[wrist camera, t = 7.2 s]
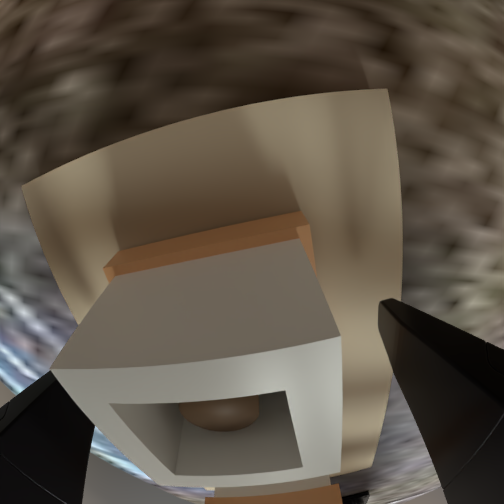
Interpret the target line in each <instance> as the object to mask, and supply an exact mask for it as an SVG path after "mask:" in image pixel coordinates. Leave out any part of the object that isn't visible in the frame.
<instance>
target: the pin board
mask: <svg viewBox="0 0 504 504" xmlns="http://www.w3.org/2000/svg"><path fill="white" fill-rule="evenodd" d="M21 188H22V192H23V195H24V198H25V202H26V205H27V208H28V211H29V214H30V217H31V220H32V223H33V226H34V228H35V231H36V234H37V237H38V239H39V242H40V245H41V247H42V250H43V252H44V255H45V257H46V259H47V262H48V264H49V266H50V269H51V271H52V273H53V275H54V278H55V280H56V282H57V284H58V286H59V288H60V291H61V293H62V295H63V297H64V299H65V301H66V303H67V305H68V307H69V309H70V310H71V312H72V314H73V316H74V318H75V320H76V322H77V324H78V325H79V324H80V323H81V321H82V320H83V318H84V317H85V316H86V314H87V313H88V312H89V310H90V309H91V307H92V306H93V305H94V303H95V302H96V301H97V299H98V298H99V297H100V295H101V294H102V293H103V291H104V290H105V289H106V287H107V286H108V285H109V282H108V280H107V278H106V275H105V273H104V271H103V267H104V266H105V265H106V264H107V263H108V262H109V261H110V260H111V259H112V258H113V256H114V255H115V254H116V253H117V252H118V251H121V250H125V249H129V248H133V247H138V246H142V245H146V244H150V243H154V242H159V241H163V240H167V239H171V238H176V237H180V236H184V235H189V234H193V233H198V232H202V231H207V230H211V229H216V228H220V227H225V226H230V225H234V224H239V223H244V222H248V221H253V220H258V219H263V218H268V217H272V216H277V215H282V214H287V213H292V212H297V211H302V213H303V214H304V216H305V218H306V219H307V221H308V222H309V224H310V230H311V237H312V244H313V251H314V258H315V265H316V273H317V279H318V282H319V284H320V286H321V289H322V291H323V293H324V296H325V298H326V300H327V303H328V305H329V308H330V310H331V313H332V315H333V317H334V320H335V322H336V325H337V327H338V330H339V332H340V335H341V347H342V390H343V407H342V449H341V468H340V472H338V473H334V474H329V476H330V477H334V476H339V475H343V474H347V473H351V472H355V471H358V470H362V469H366V468H369V467H371V466H372V463H373V460H374V456H375V453H376V449H377V445H378V441H379V437H380V433H381V429H382V425H383V421H384V416H385V412H386V407H387V402H388V397H389V391H390V386H391V380H392V374H393V370H392V367H391V364H390V361H389V358H388V355H387V353H386V350H385V347H384V344H383V341H382V338H381V336H380V333H379V330H378V305H379V302H380V301H381V300H385V299H389V298H394V299H396V300H399V301H401V289H402V261H403V229H402V201H401V186H400V173H399V163H398V153H397V145H396V137H395V130H394V123H393V117H392V111H391V105H390V100H389V94H388V89H367V90H352V91H339V92H329V93H320V94H311V95H304V96H296V97H290V98H283V99H277V100H271V101H266V102H260V103H255V104H250V105H245V106H240V107H236V108H231V109H227V110H222V111H218V112H214V113H210V114H206V115H202V116H198V117H195V118H191V119H187V120H184V121H180V122H177V123H173V124H170V125H167V126H164V127H160V128H157V129H154V130H151V131H148V132H145V133H142V134H139V135H136V136H133V137H131V138H128V139H125V140H122V141H120V142H117V143H114V144H112V145H109V146H107V147H104V148H102V149H99V150H97V151H94V152H92V153H89V154H87V155H85V156H82V157H80V158H78V159H75V160H73V161H71V162H69V163H67V164H64V165H62V166H60V167H58V168H56V169H54V170H52V171H50V172H48V173H46V174H44V175H42V176H40V177H38V178H36V179H34V180H32V181H30V182H28V183H26V184H24V185H23V186H21ZM179 410H180V413H181V414H182V416H183V417H184V418H185V419H186V420H187V421H189V422H190V423H192V424H194V425H196V426H198V427H200V428H203V429H207V430H211V431H219V432H229V431H236V430H240V429H243V428H246V427H248V426H250V425H251V424H253V423H254V422H255V421H256V420H257V418H258V416H259V395H252V396H245V397H237V398H228V399H219V400H208V401H196V402H180V403H179ZM204 488H205V489H206V490H215V487H204Z"/></svg>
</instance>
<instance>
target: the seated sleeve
mask: <svg viewBox="0 0 504 504" xmlns="http://www.w3.org/2000/svg"><path fill="white" fill-rule="evenodd" d="M205 504H343V503H342V497H341V492H340V487H339V483H338V484H334V485H331V482H330V476H329V475H324V476H319V477H314V478H309V479H303V480H297V481H290V482H283V483H275V484H266V485H254V486H240V487H215V494H214V497H205Z"/></svg>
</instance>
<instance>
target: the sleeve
mask: <svg viewBox="0 0 504 504" xmlns="http://www.w3.org/2000/svg"><path fill="white" fill-rule="evenodd" d="M103 271H104V273H105V275H106V278H107V280H108V282H109V285H108V286H107V287H106V289H105V290H104V291H103V293H102V294H101V295H100V297H99V298H98V299H97V301H96V302H95V303H94V305H93V306H92V307H91V309H90V310H89V312H88V313H87V314H86V316H85V317H84V318H83V320H82V321H81V323H80V324H79V325H78V327H77V328H76V330H75V331H74V333H73V334H72V336H71V337H70V338H69V340H68V341H67V343H66V344H65V346H64V347H63V349H62V350H61V352H60V353H59V355H58V356H57V358H56V359H55V361H54V363H53V364H52V366H51V367H50V370H51V371H52V373H53V374H54V376H55V377H56V378H57V380H58V381H59V382H60V384H61V385H62V386H63V388H64V389H65V390H66V392H67V393H68V394H69V395H70V397H71V398H72V399H73V400H74V402H75V403H76V404H77V405H78V406H79V408H80V409H81V410H82V411H83V412H84V413H85V415H86V416H87V417H88V418H89V419H90V420H91V421H92V422H93V424H94V425H95V426H96V427H97V428H98V429H99V430H100V431H101V432H102V433H103V434H104V435H105V436H106V437H107V438H108V439H109V440H110V442H111V443H112V444H113V445H114V446H116V447H117V448H118V449H119V450H120V451H121V452H122V453H123V454H124V455H125V456H126V457H127V458H128V459H129V460H130V461H131V462H132V463H134V464H135V465H136V466H137V467H138V468H139V469H140V470H141V471H143V472H144V473H145V474H146V475H147V476H148V477H150V478H151V479H152V480H153V481H154V482H156V483H157V484H158V485H163V486H177V487H240V486H254V485H266V484H275V483H283V482H290V481H297V480H303V479H309V478H314V477H319V476H324V475H329V474H334V473H338V472H340V468H341V449H342V407H343V390H342V347H341V335H340V332H339V330H338V327H337V325H336V322H335V320H334V317H333V315H332V313H331V310H330V308H329V305H328V303H327V300H326V298H325V296H324V293H323V291H322V289H321V286H320V284H319V282H318V279H317V273H316V265H315V258H314V251H313V244H312V237H311V230H310V224H309V222H308V221H307V219H306V218H305V216H304V214H303V213H302V211H297V212H292V213H287V214H282V215H277V216H272V217H268V218H263V219H258V220H253V221H248V222H244V223H239V224H234V225H230V226H225V227H220V228H216V229H211V230H207V231H202V232H198V233H193V234H189V235H184V236H180V237H176V238H171V239H167V240H163V241H159V242H154V243H150V244H146V245H142V246H138V247H133V248H129V249H125V250H121V251H118V252H117V253H116V254H115V255H114V256H113V258H112V259H111V260H110V261H109V262H108V263H107V264H106V265H105V266H104V267H103ZM252 395H259V416H258V418H257V420H256V421H255V422H254V423H253V424H251V425H250V426H248V427H246V428H243V429H240V430H236V431H229V432H219V431H211V430H207V429H203V428H200V427H198V426H196V425H194V424H192V423H190V422H189V421H187V420H186V419H185V418H184V417H183V416H182V414H181V413H180V410H179V403H180V402H196V401H208V400H219V399H228V398H237V397H245V396H252Z"/></svg>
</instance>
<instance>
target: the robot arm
mask: <svg viewBox="0 0 504 504" xmlns="http://www.w3.org/2000/svg"><path fill="white" fill-rule="evenodd" d="M378 330H379V333H380V336H381V338H382V341H383V344H384V347H385V350H386V353H387V355H388V358H389V361H390V364H391V367H392V370H393V373H394V375H395V377H396V379H397V382H398V384H399V386H400V388H401V390H402V392H403V394H404V397H405V399H406V401H407V403H408V405H409V407H410V410H411V412H412V414H413V416H414V419H415V421H416V423H417V426H418V428H419V430H420V433H421V435H422V437H423V440H424V442H425V445H426V447H427V449H428V452H429V454H430V457H431V459H432V462H433V465H434V467H435V470H436V472H437V475H438V478H439V480H440V483H441V486H442V488H443V489H444V490H443V492H444V494H445V497H446V500H447V503H448V504H504V349H501V348H499V347H497V346H495V345H493V344H491V343H489V342H485V341H484V340H482V339H480V338H478V337H476V336H474V335H472V334H469V333H467V332H465V331H463V330H461V329H459V328H457V327H455V326H453V325H450V324H448V323H446V322H444V321H442V320H440V319H438V318H435V317H433V316H431V315H429V314H427V313H425V312H422V311H420V310H418V309H416V308H414V307H412V306H409V305H407V304H405V303H403V302H401V301H399V300H396V299H394V298H389V299H385V300H381V301H380V302H379V305H378ZM94 428H95V425H94V424H93V422H92V421H91V420H90V419H89V418H88V417H87V416H86V415H85V413H84V412H83V411H82V410H81V409H80V408H79V406H78V405H77V404H76V403H75V402H74V400H73V399H72V398H71V397H70V395H69V394H68V393H67V392H66V390H65V389H64V388H63V386H62V385H61V384H60V382H59V381H58V380H57V378H56V377H55V376H54V374H53V373H52V371H51V370H50V371H49V372H47V373H46V374H45V375H43V376H42V377H41V378H39V379H38V380H37V381H35V382H34V383H33V384H31V385H30V386H29V387H27V388H26V389H25V390H23V391H22V392H21V393H19V394H18V395H17V396H15V397H14V398H13V399H11V400H10V402H7V403H6V404H5V405H3V406H2V407H1V408H0V504H82V499H83V491H84V484H85V478H86V471H87V465H88V459H89V453H90V448H91V443H92V438H93V433H94ZM369 496H370V494H369V492H366V493H362V494H359V495H355V496H351V497H347V498H343V499H342V503H343V504H366V503H367V501H368V499H369Z"/></svg>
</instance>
